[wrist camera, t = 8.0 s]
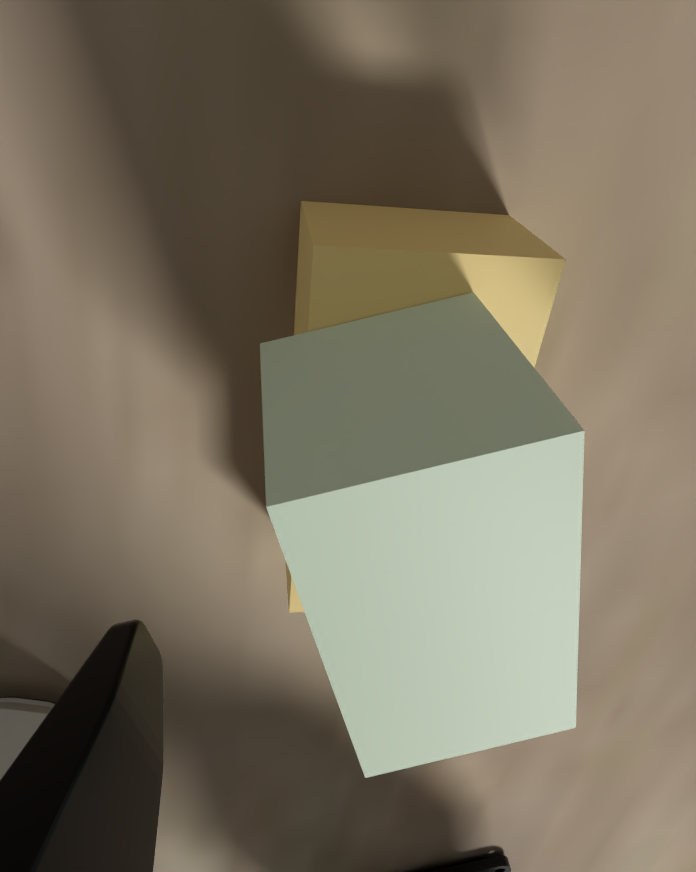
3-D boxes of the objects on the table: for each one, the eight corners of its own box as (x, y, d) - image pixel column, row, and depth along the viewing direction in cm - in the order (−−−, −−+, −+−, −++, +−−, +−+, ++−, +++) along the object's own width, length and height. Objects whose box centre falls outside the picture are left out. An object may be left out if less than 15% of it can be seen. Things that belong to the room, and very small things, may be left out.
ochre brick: (433, 518, 17) (464, 606, 14) (282, 520, 16) (289, 612, 14) (502, 210, 12) (565, 260, 10) (299, 196, 12) (313, 245, 9)
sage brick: (495, 552, 13) (576, 727, 10) (336, 590, 13) (365, 777, 10) (473, 292, 10) (584, 430, 7) (259, 343, 10) (266, 507, 7)
